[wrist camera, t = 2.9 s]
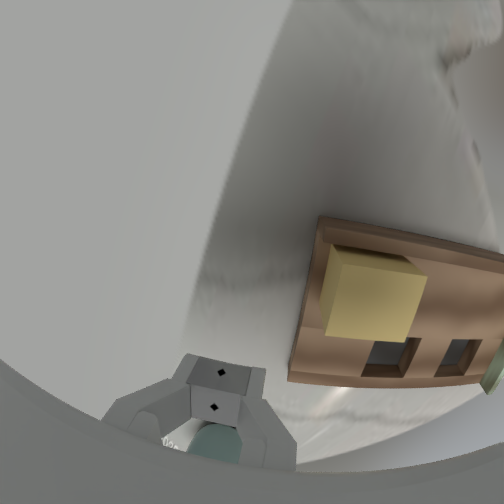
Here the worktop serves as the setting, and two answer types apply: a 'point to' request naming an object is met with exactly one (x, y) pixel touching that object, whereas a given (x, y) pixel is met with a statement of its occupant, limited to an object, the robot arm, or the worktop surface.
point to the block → (369, 294)
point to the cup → (217, 443)
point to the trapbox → (424, 323)
